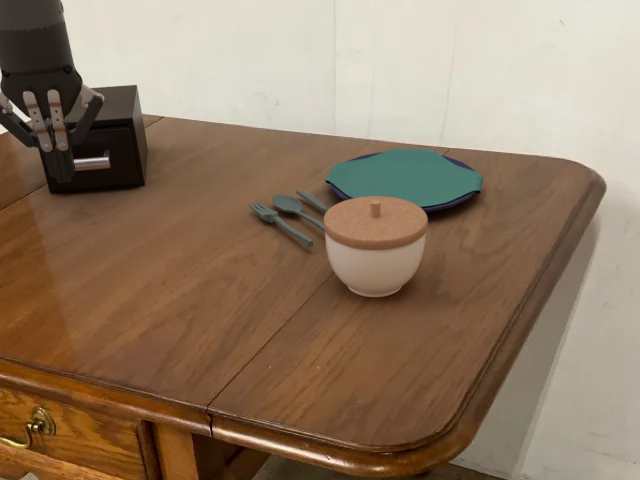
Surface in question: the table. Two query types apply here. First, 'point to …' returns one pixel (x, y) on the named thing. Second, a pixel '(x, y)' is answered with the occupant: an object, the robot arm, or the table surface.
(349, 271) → the trinket box
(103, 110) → the dark wood drawer unit
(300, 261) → the table surface
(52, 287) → the table surface
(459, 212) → the table surface
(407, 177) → the cutlery set
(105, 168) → the open drawer with handle
